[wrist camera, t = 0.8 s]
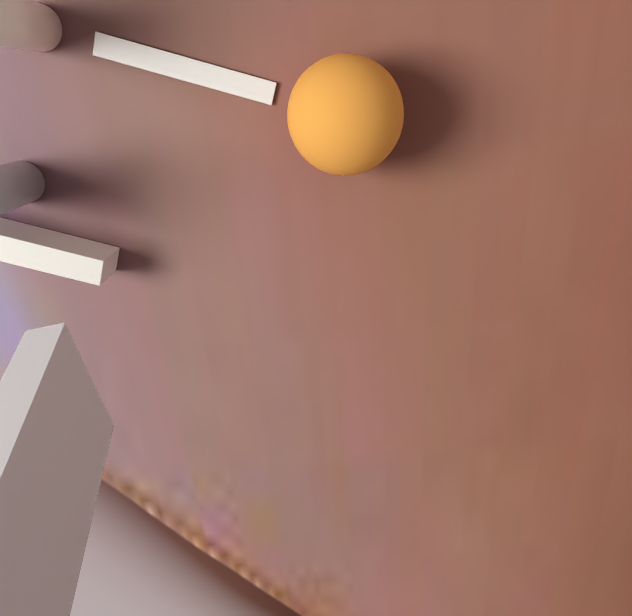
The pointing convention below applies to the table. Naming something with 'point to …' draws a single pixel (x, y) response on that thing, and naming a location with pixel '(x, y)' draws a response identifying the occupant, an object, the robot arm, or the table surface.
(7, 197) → the pin grey
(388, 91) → the ball
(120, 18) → the table surface
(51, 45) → the pin cream
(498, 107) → the table surface
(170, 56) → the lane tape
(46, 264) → the lane rail
